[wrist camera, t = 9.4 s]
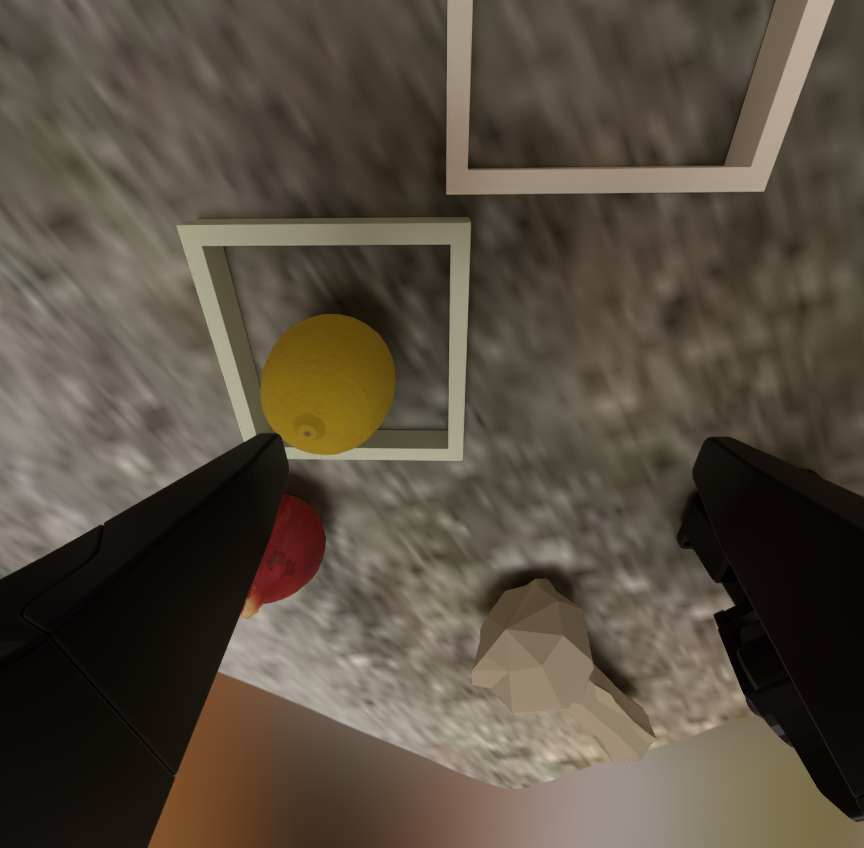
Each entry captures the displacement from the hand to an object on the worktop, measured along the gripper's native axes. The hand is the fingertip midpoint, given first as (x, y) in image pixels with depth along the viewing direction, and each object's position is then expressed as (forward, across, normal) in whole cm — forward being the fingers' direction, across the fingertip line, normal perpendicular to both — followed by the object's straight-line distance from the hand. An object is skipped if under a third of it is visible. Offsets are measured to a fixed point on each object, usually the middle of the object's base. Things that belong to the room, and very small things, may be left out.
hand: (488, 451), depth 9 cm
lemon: (+13, +6, +3) cm, 15 cm away
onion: (+13, +11, +14) cm, 22 cm away
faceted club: (+13, -10, +31) cm, 35 cm away
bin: (+13, +6, +3) cm, 15 cm away
